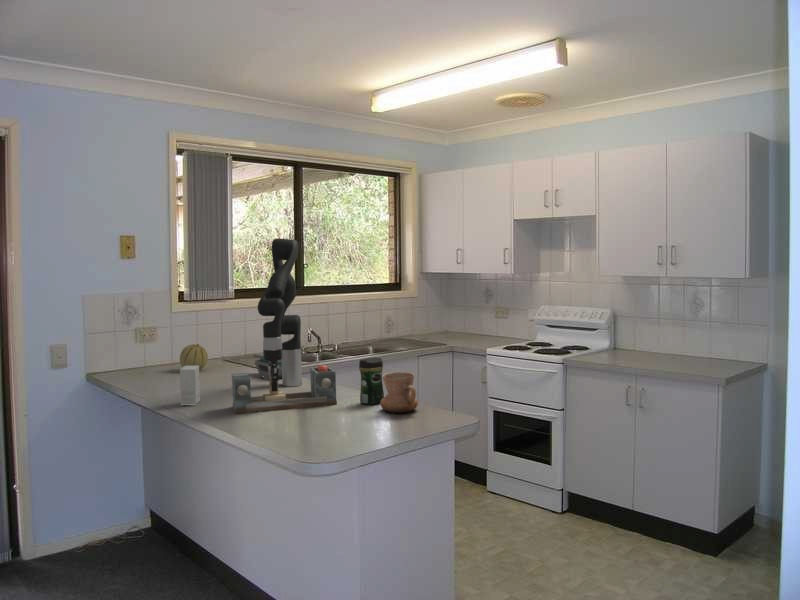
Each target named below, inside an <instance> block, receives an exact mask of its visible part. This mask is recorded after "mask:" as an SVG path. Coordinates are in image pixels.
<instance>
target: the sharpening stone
mask: <svg viewBox="0 0 800 600" xmlns="http://www.w3.org/2000/svg"><path fill="white" fill-rule="evenodd" d="M253 358H256V359H257V358H258V359H257V360H254V365H255V367H256V369H257V372H258V374H259V376H260V375H261V376H264V377H263V378H265V377H267V379H269V374H268V364H269V361H266V360H264V359H263V352H261V353H254V354H253ZM277 364H279V375H278V379H282V359H281V360H277ZM261 376H260V377H261Z"/></svg>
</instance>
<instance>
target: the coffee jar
mask: <svg viewBox="0 0 800 600" xmlns="http://www.w3.org/2000/svg"><path fill="white" fill-rule="evenodd" d="M358 367H359V368H358V369H359V371H360V378H361V379H360V391H359V392H360V394H359V395H360V397H359V398H360V399H359V401H360V403H361V404H363V405H365V404H366V405H372V404H373V405H378V404H380V402H381V400H382V398H384V397H385V394H384V393H385V392H384V385H383V384H384V383H383V369H384V364H383V360H382V358H381V357H367V358H362V359H360V360H359V365H358Z"/></svg>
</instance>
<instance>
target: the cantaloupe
mask: <svg viewBox="0 0 800 600" xmlns="http://www.w3.org/2000/svg"><path fill="white" fill-rule="evenodd" d="M208 357H209V355H208V352H207V350H206V348H204V347H203V346H201V345H200V343H196V344H189V345H187V346H185V347H183V349H182V350H181V352H180V354H179V364H180V365H181V368H183V367H184V366H198V365H199V371H201V370H202V369H203V368H205V366H206V365H207V363H208Z"/></svg>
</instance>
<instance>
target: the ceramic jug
mask: <svg viewBox="0 0 800 600" xmlns="http://www.w3.org/2000/svg"><path fill="white" fill-rule="evenodd" d="M414 380H415V374H414V373H413V372H409V371H407V372H406V371H394V372H393V371H392V372H387V373H384V374H382V382H383V384H384V385H385V389H386V392H387V395H384V398H382V400H381V402H380V403H379V405H380V407H381V408H382V409H383V410H384V411H386V412H388V413H394V414H399V413H400V414H401V413H402V414H404V413H408V412H411V411H413V410H415V409H416V408H417V407H418V404H419V401H418V399H417V391H416V387H415V386H414V385H413V384H414Z"/></svg>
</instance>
